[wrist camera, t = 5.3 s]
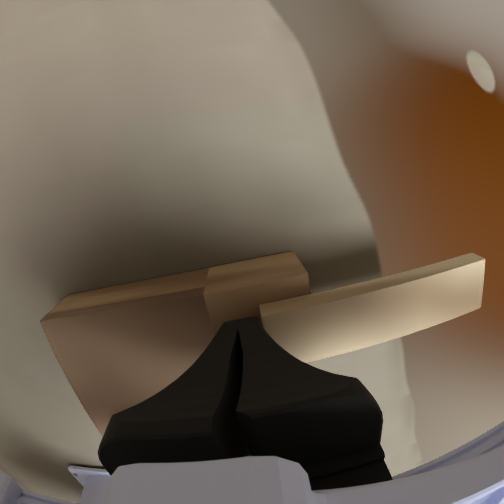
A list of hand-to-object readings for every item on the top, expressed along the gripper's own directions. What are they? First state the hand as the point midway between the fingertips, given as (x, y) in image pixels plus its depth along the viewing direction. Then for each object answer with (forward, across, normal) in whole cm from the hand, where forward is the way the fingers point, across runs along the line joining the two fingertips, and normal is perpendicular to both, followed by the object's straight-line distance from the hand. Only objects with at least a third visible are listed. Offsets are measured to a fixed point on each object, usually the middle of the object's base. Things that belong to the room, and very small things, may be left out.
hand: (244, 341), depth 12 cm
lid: (+1, +5, +4) cm, 7 cm away
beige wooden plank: (+1, -6, 0) cm, 6 cm away
